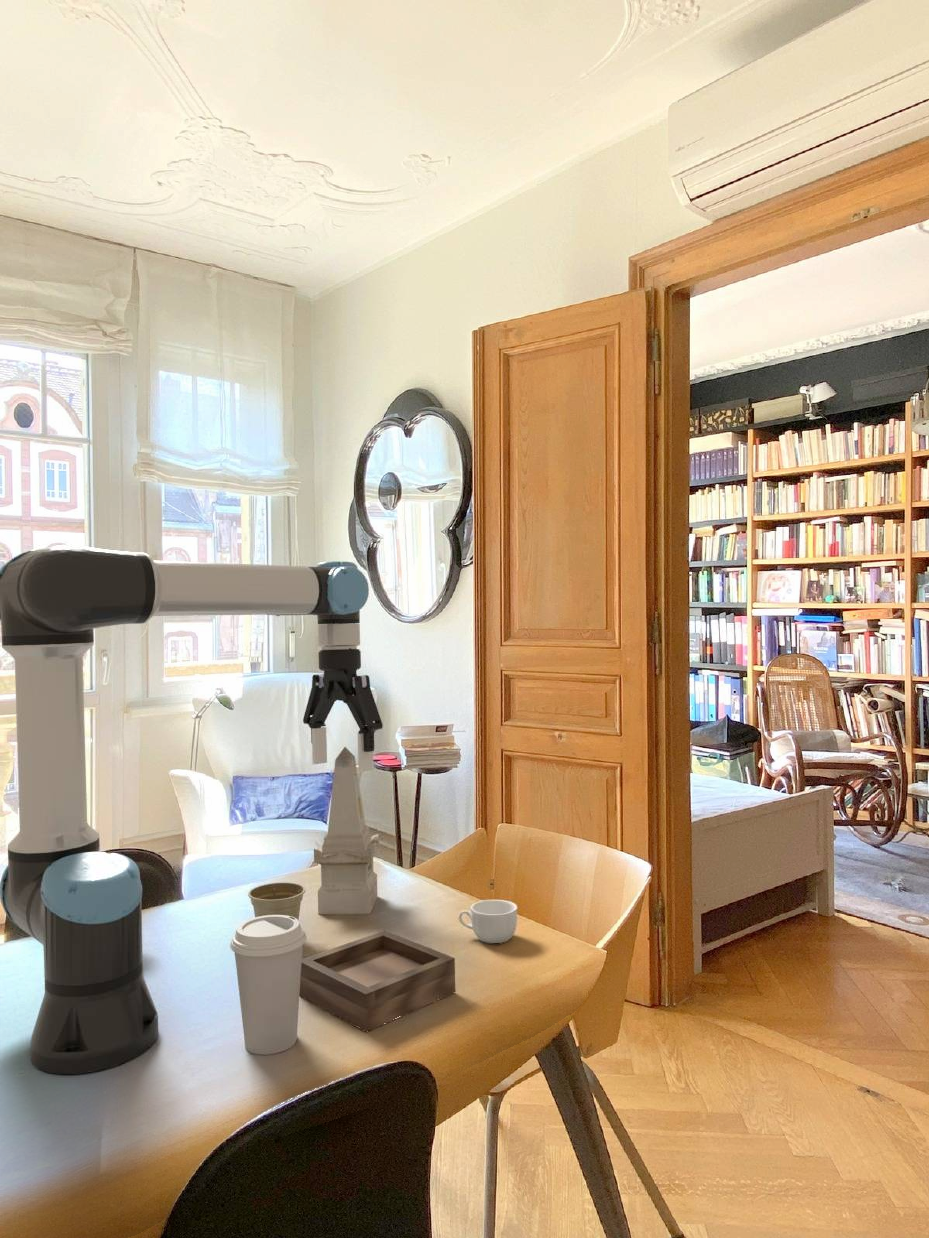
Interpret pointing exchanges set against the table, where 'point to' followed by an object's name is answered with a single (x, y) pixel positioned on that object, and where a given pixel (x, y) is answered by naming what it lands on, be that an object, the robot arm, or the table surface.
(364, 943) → the walnut stand
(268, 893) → the flower pot
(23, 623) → the robot arm
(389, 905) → the table surface
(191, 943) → the table surface
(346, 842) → the miniature monument
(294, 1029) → the coffee cup
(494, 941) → the teacup
